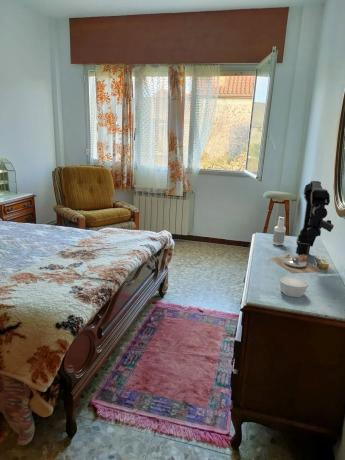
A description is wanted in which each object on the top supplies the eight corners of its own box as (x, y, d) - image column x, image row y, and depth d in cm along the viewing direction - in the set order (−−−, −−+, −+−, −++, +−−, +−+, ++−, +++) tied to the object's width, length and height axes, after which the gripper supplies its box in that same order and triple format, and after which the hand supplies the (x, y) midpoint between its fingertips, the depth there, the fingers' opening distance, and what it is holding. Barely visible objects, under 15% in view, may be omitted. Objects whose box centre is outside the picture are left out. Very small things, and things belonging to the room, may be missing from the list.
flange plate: (297, 269, 162) (298, 262, 161) (279, 262, 170) (280, 255, 169) (313, 264, 169) (315, 257, 168) (296, 258, 178) (296, 251, 177)
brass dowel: (287, 259, 177) (288, 253, 176) (289, 260, 175) (290, 254, 174) (284, 259, 176) (285, 254, 175) (286, 260, 175) (287, 255, 174)
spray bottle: (271, 244, 204) (275, 217, 200) (273, 242, 210) (277, 215, 205) (282, 246, 201) (286, 218, 197) (284, 244, 207) (288, 216, 202)
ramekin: (273, 289, 141) (274, 278, 140) (292, 285, 146) (294, 274, 144) (291, 300, 131) (293, 288, 130) (311, 296, 136) (313, 285, 134)
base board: (297, 258, 182) (297, 256, 181) (323, 273, 161) (323, 271, 161) (268, 259, 177) (268, 257, 177) (291, 275, 157) (291, 273, 157)
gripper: (335, 220, 148) (329, 252, 152) (333, 213, 164) (328, 242, 169) (309, 217, 152) (303, 248, 156) (310, 210, 169) (305, 239, 173)
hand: (311, 244), depth 163 cm, fingers open, 4 cm apart
